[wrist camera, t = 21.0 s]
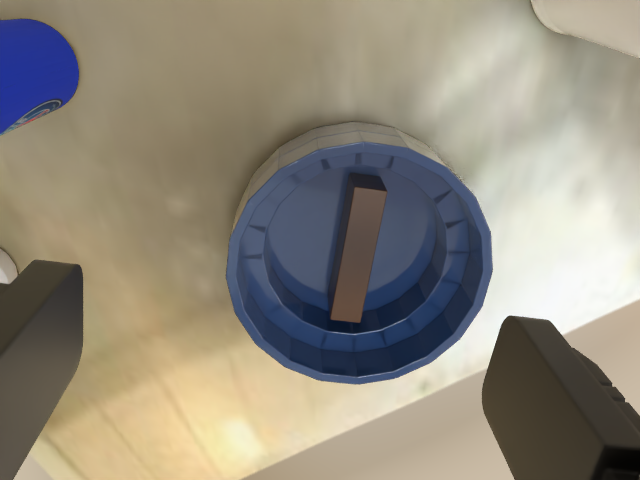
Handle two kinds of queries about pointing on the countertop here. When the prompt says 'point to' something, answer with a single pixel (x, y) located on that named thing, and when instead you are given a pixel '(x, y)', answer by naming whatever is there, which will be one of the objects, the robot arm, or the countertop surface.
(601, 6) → the drinking glass
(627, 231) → the countertop surface
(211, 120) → the countertop surface
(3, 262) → the bottle
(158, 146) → the countertop surface
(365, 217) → the stick
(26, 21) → the beverage can
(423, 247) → the bowl
